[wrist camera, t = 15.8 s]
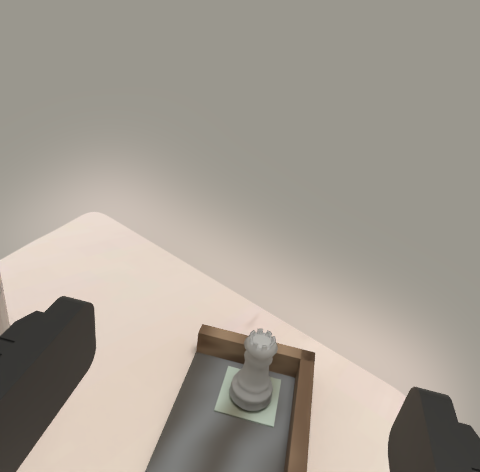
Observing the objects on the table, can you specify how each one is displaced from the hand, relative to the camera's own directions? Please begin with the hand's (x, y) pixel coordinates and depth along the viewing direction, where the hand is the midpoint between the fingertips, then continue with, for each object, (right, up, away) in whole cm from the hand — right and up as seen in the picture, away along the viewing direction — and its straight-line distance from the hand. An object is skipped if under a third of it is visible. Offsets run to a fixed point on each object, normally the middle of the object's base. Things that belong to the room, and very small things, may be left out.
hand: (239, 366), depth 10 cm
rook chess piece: (+1, -13, +33) cm, 35 cm away
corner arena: (0, -15, +31) cm, 34 cm away
